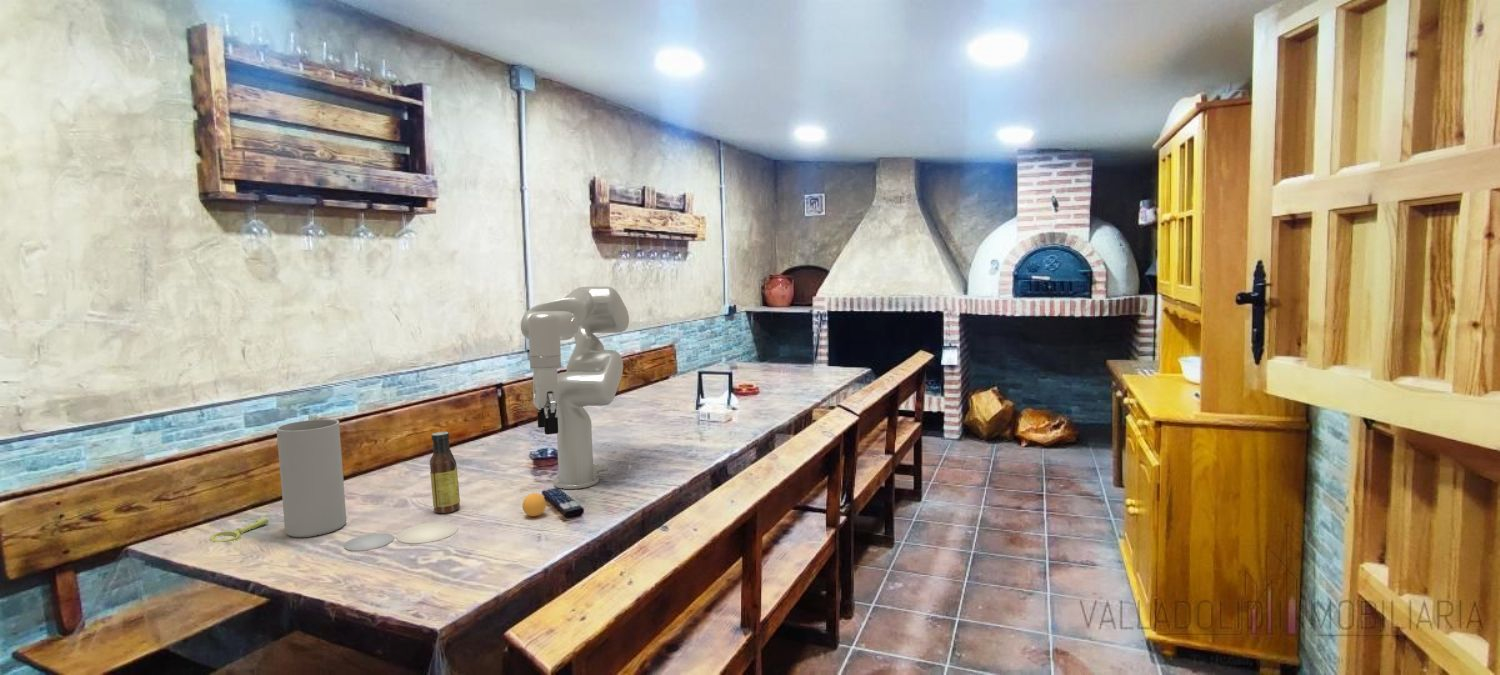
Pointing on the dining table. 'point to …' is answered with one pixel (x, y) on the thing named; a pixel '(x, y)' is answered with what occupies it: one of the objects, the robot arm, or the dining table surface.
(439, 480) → the sauce bottle
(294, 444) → the cylinder vase
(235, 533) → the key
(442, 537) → the disc
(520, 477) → the dining table surface
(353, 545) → the disc
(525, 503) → the ball
